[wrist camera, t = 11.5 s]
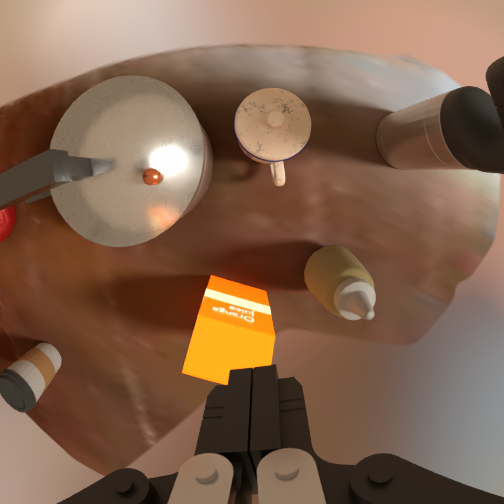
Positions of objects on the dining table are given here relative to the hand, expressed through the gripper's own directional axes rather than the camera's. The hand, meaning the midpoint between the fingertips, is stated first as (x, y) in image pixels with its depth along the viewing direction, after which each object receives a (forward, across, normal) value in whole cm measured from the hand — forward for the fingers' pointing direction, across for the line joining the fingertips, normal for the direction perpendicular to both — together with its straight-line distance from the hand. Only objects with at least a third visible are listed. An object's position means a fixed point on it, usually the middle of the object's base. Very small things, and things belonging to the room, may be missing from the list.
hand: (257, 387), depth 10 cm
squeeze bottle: (+36, -9, +9) cm, 38 cm away
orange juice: (+35, +6, +12) cm, 38 cm away
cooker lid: (+23, +17, -11) cm, 30 cm away
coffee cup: (+33, +46, +19) cm, 59 cm away
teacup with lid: (+36, -3, -10) cm, 38 cm away
